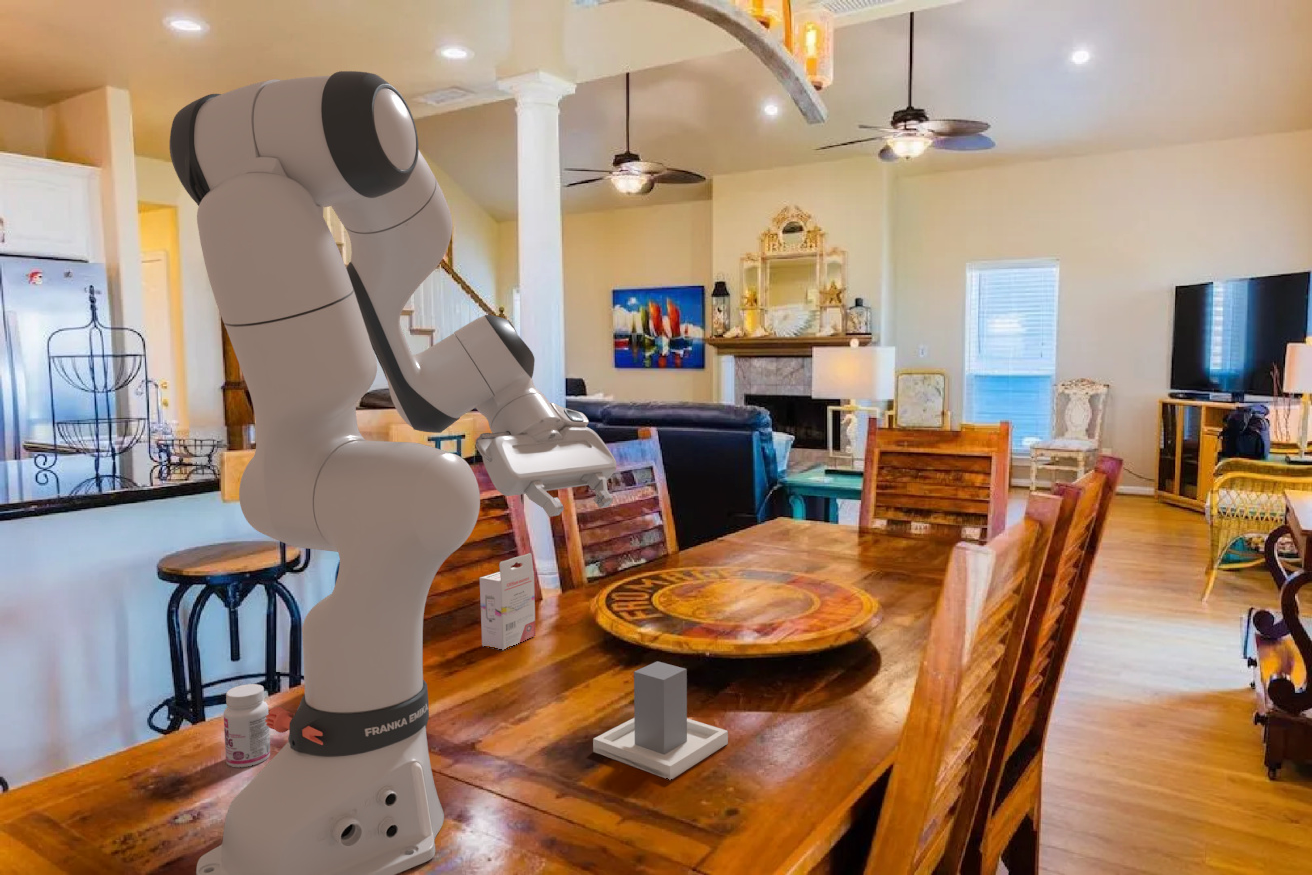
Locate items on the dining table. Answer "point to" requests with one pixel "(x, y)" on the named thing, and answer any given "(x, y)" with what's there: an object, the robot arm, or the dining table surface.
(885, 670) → the dining table surface
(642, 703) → the grey block
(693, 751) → the tray
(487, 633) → the ink cartridge box
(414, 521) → the robot arm
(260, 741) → the pill bottle
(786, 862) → the dining table surface
